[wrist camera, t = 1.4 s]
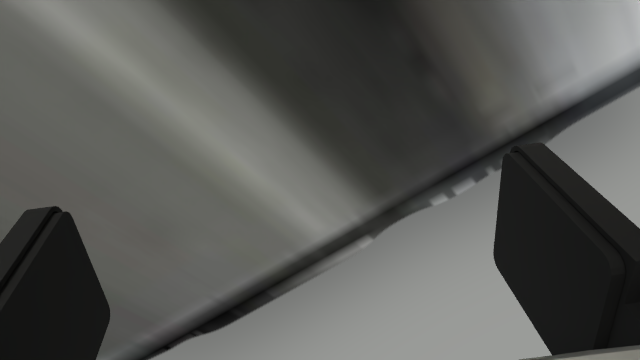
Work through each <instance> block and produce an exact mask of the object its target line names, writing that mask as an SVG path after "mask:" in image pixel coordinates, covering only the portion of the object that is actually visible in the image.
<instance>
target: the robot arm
mask: <svg viewBox="0 0 640 360" xmlns="http://www.w3.org/2000/svg"><path fill="white" fill-rule="evenodd" d="M494 260H495V264H496V266H497V268H498V270H499V271H500V273H501V275H502V276H503V278H504V279H505V281H506V283H507V284H508V286H509V287H510V289H511V290H512V292H513V294H514V295H515V297H516V298H517V300H518V301H519V303H520V305H521V306H522V308H523V310H524V311H525V313H526V314H527V316H528V317H529V319H530V321H531V322H532V324H533V325H534V327H535V329H536V330H537V332H538V333H539V335H540V337H541V338H542V340H543V341H544V343H545V344H546V346H547V348H548V349H549V351H550V352H551V354H552V356H545V357H537V358H529V359H522V360H640V229H639V228H638V227H637V226H636V225H635V224H634V223H633V222H631V221H630V220H629V219H628V218H627V217H626V216H625V215H624V214H622V213H621V212H620V211H619V210H618V209H617V208H616V207H615V206H613V205H612V204H611V203H610V202H609V201H608V200H607V199H605V198H604V197H603V196H602V195H601V194H600V193H598V192H597V191H596V190H595V189H594V188H593V187H592V186H591V185H589V184H588V183H587V182H586V181H585V180H584V179H583V178H582V177H580V176H579V175H578V174H577V173H576V172H575V171H574V170H573V169H571V168H570V167H569V166H568V165H567V164H566V163H565V162H564V161H562V160H561V159H560V158H559V157H558V156H557V155H556V154H554V153H553V152H552V151H551V150H550V149H549V148H548V147H546V146H545V145H544V144H543V143H533V144H526V145H518V146H514V147H513V148H512V149H511V151H510V153H507V154H505V155H504V157H503V161H502V171H501V182H500V191H499V201H498V211H497V221H496V232H495V242H494ZM109 320H110V308H109V305H108V302H107V300H106V297H105V295H104V292H103V290H102V288H101V285H100V283H99V280H98V278H97V276H96V273H95V271H94V268H93V266H92V263H91V261H90V259H89V256H88V254H87V251H86V249H85V247H84V244H83V242H82V239H81V237H80V235H79V232H78V230H77V227H76V225H75V223H74V220H73V218H72V216H71V214H70V213H69V212H62V210H61V209H60V208H59V207H57V206H53V207H45V208H38V209H30V210H26V211H25V212H24V213H23V214H22V216H21V217H20V218H19V220H18V221H17V222H16V224H15V225H14V226H13V228H12V229H11V230H10V231H9V233H8V234H7V235H6V237H5V238H4V239H3V241H2V242H1V243H0V360H96V357H97V354H98V352H99V349H100V346H101V343H102V341H103V338H104V335H105V332H106V330H107V327H108V324H109Z"/></svg>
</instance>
